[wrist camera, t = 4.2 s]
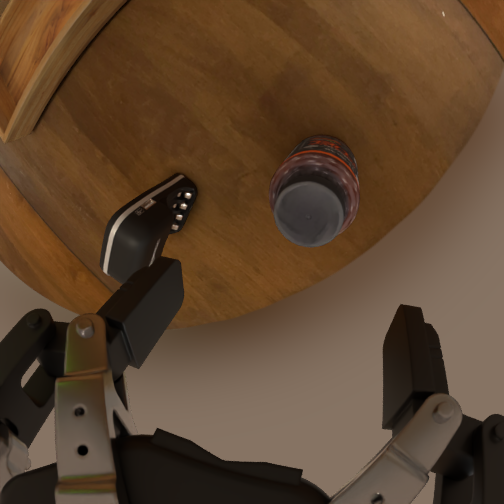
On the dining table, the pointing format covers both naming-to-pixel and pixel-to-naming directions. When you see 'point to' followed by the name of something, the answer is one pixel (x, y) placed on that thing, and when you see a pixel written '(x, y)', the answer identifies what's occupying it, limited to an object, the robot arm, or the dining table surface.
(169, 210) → the battery charger
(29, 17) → the tray
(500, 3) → the dining table surface
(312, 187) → the supplement bottle
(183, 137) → the dining table surface
